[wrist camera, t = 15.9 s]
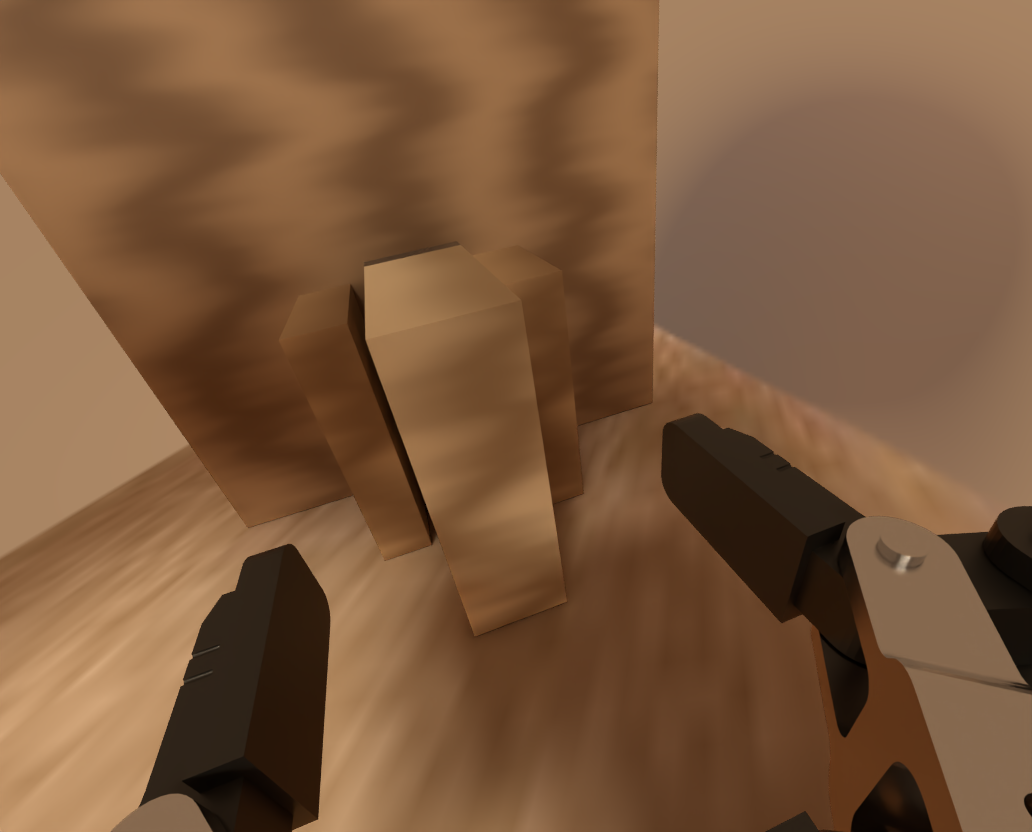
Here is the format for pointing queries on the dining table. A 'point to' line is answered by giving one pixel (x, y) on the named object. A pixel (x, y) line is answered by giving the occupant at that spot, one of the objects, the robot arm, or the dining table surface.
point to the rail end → (468, 425)
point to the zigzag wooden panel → (339, 210)
